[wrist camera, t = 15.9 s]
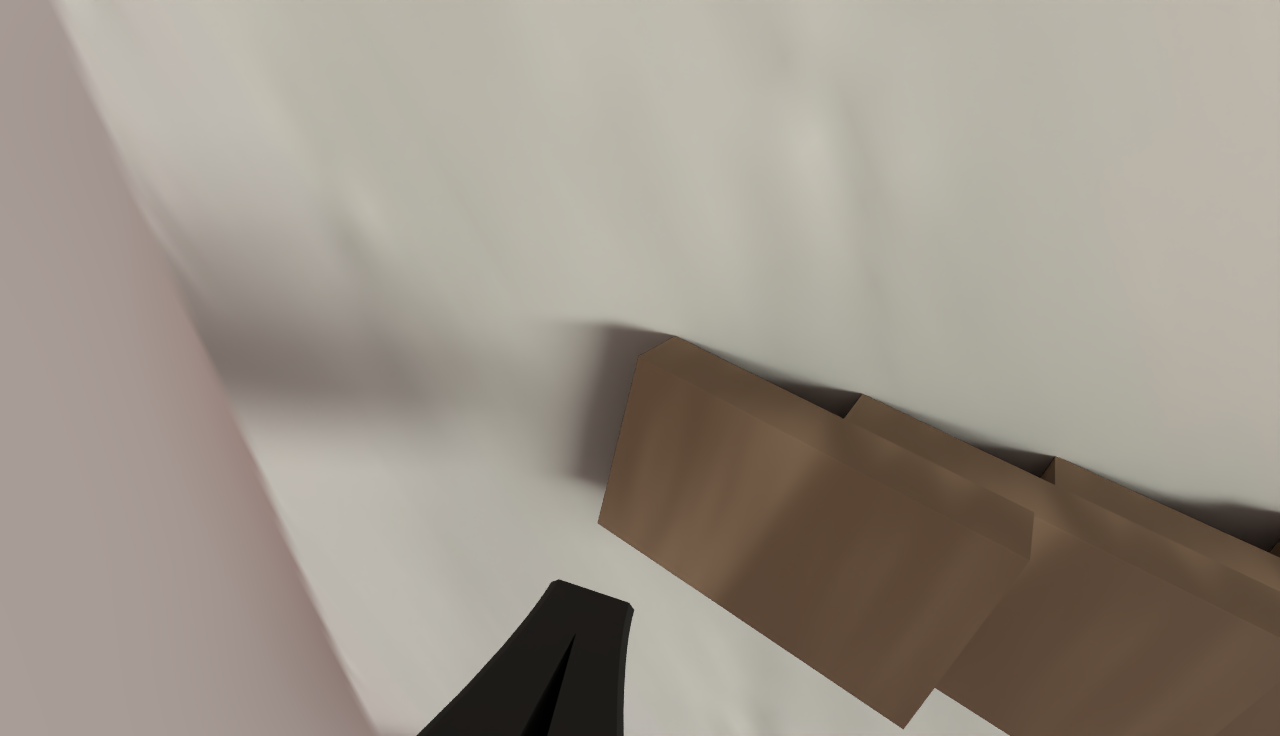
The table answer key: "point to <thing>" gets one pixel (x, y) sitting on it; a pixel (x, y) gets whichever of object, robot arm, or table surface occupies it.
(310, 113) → the table surface
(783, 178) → the table surface
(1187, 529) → the domino
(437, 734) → the robot arm
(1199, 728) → the domino
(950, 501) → the domino
